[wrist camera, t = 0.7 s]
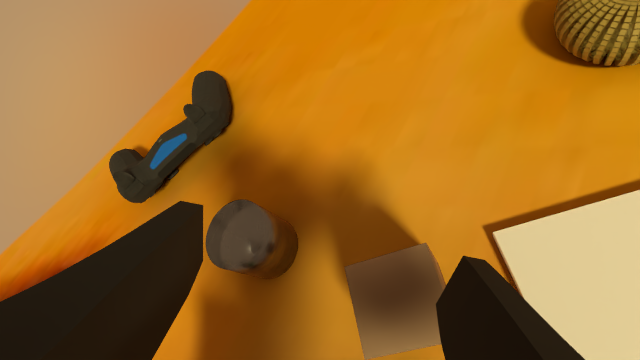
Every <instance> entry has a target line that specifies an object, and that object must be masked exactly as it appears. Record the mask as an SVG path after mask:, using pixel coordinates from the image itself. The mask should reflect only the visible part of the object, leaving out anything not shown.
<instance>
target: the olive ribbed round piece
mask: <svg viewBox="0 0 640 360" xmlns="http://www.w3.org/2000/svg"><path fill="white" fill-rule="evenodd" d="M554 15H555V16H554V30H555V32H556V36H557V38H558V40H559V41H560V43H561V45H562V46H564V48H566V49H567V51H568V52H570V53H572V54H573V55H574V56H576V57H577V58H582V59H583V60H584V61H587V62H589V61H591V60H592V59H593V63H594V64H595V63H596V64H599V63H600V62H601V61H602V60H603V58H604V57H605V55H606V53H607V52H608V50H609V52H608V54H607V57H606V59H605V62H604V65H606V66H610V65H611V64H612V62H613V60H614V65H615V66H622V65H625V64H626V65H636V64H638V63H640V0H559V1H558V4H557V6H556V10H555V13H554ZM585 25H586V26H585ZM617 28H618V29H617ZM593 51H594V52H593ZM621 53H622V57H621Z"/></svg>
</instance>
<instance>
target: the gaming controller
mask: <svg viewBox="0 0 640 360" xmlns="http://www.w3.org/2000/svg"><path fill="white" fill-rule="evenodd" d="M183 110H184V114H185V115H186V117H187V118H186V119H185V120H184V121H182V122H181V123H179V124H178V125H176V126H174V127H173V128H171V129H169V130H168V131H166V132H165V133H163V134H162V135H161V136H160V137H159V138H158V140H157V141H156V142H155V144H154V145H153V146H152V148H151V149H150V151H149V152H148V154H147V155H146V157H145V158H143V157H142V156H141V155H140V154H139V153H138V152H137V151H135V150H131V149H123V150H120V151H117V152H116V153H114V154H113V155H112V157H111V159H110V162H109V168H110V171H111V174H112V176H113V179H114V180H115V182H116V184H117V188H118V191H119V193H120V194H121V195H122V196H123V197H124V198H125V199H127V200H128V201H130V202H133V203H142V202H144V201H145V200H146V199H148V198H149V197H152V196H153V195H154V194H155V193H156V191H155V190H157V189H158V188H159V187H161V186H162V184H163V181H164V180H165V179H166V177H167V176H168V175H169V176H168V178H169V179H171V178H172V177H173V176H175V175H176V174H177V172H178V171H179V170H178V169H175V168H176V167H177V166H178V165H179V164H180V163H181V162H182V161H184V160H185V159H186V158H187V157H188V156H189V155H190V154H191V153H192V152H193V151H194V150H195V149H196V148H198V146H200V145H202V144H203V142H204V144H205V145H208V144H209V143H210V142H211V141H212V140H213V139H214V137H217V136H218V135H219V134H220V133H221V129H223V128H225V127H226V126H227V125H228V123H229V122H228V121H229V116H230V113H231V102H230V98H229V93H228V90H227V86H226V82H225V80H224V79H223V77H222V76H220V75H219V74H218V73H216V72H214V71H204V72H201V73H199V74H197V75H196V77H195V78H194V82H193V87H192V104H187V105H185V106H184V108H183ZM174 169H175V170H174Z"/></svg>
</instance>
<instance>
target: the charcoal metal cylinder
mask: <svg viewBox="0 0 640 360" xmlns="http://www.w3.org/2000/svg"><path fill="white" fill-rule="evenodd" d="M206 249H207V253H208V256H209V258H210V260H211V261H212V262H213V263H214V264H215V265H216V266H218V267H220V268H223V269H227V270H231V271H235V272H239V273H243V274H247V275H251V276H256V277H260V278H264V279H272V278H276V277H278V276H280V275H282V274H283V273H285V272H286V271H287V270H288V269H289V267H290V266H291V265H292V263H293V261H294V259H295V257H296V254H297V250H298V238H297V234H296V232H295V230H294V228H293V227H292V226H291V225H290V224H289V223H288V222H286V221H285V220H283V219H281V218H279V217H278V216H276V215H274V214H272V213H271V212H269V211H267V210H265V209H263V208H262V207H260V206H258V205H256V204H255V203H253V202H251V201H248V200H236V201H233V202H230V203H228V204H227V205H225V206H224V207H223V208H222V209H221V210H219V212H218V213H217V214H216V215H215V217H214V218H213V220H212V221H211V223H210V226H209V228H208V232H207V236H206Z"/></svg>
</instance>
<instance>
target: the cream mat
mask: <svg viewBox="0 0 640 360" xmlns="http://www.w3.org/2000/svg"><path fill="white" fill-rule="evenodd" d="M492 236H493V238H494V240H495V242H496V244H497V246H498V248H499V251H500V253H501V255H502V257H503V259H504V261H505V263H506V265H507V268H508V270H509V272H510V274H511V276H512V278H513V280H514V283H515V285H516V287H517V289H518V291H519V293H520V295H521V296H522V297H523V298H524V299H525V300H526V301H527V302H528V303H529V304H530V305H531V306H532V307H533V308H534V309H535V310H536V311H537V313H538V314H539V315H540V316H541V317H542V318H543V319H544V320H545V321H546V322H547V323H548V324H549V325H550V326H551V327H552V328H553V329H554V330H555V331H556V332H557V333H558V334H559V335H560V336H561V337H562V338H563V339H564V340H566V341H567V342H568V343H569V344H570V345H571V346H572V347H573V348H574V349H575V350H576V351H577V352H578V353H579V354H580V355H581V356H582V357H583V358H584V359H585V360H640V190H637V191H634V192H630V193H627V194H623V195H620V196H617V197H613V198H610V199H606V200H603V201H599V202H596V203H592V204H589V205H585V206H582V207H578V208H575V209H572V210H568V211H565V212H561V213H558V214H554V215H551V216H547V217H544V218H540V219H537V220H533V221H530V222H527V223H523V224H520V225H516V226H513V227H509V228H506V229H502V230H499V231H495V232H493V235H492Z"/></svg>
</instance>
